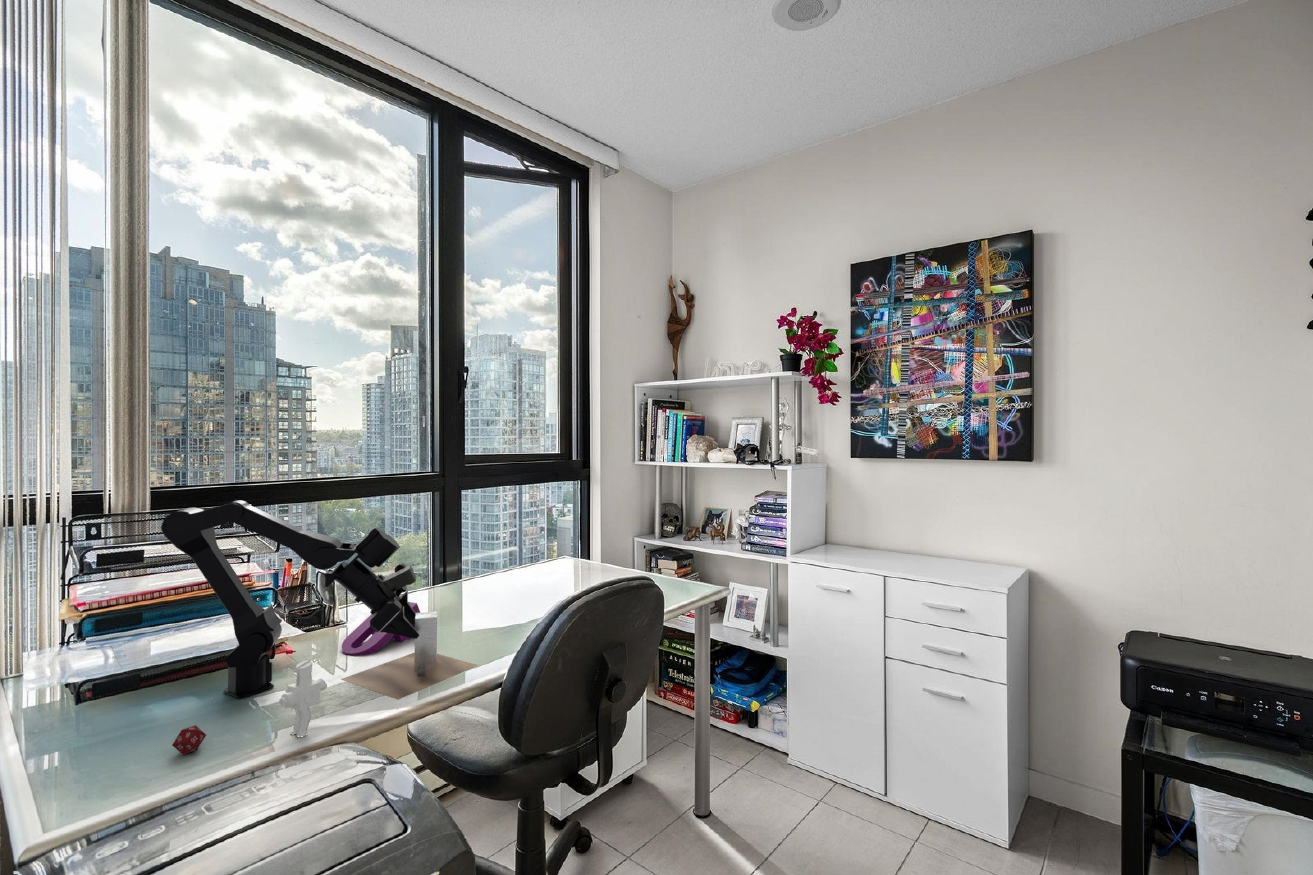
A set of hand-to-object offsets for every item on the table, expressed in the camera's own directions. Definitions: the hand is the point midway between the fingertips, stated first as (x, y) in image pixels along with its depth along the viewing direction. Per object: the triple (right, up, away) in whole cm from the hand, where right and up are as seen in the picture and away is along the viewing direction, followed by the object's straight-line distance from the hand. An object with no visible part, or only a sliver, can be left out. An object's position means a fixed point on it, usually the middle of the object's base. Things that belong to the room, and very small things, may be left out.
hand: (419, 630), depth 129 cm
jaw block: (+1, -8, +1) cm, 8 cm away
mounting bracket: (-15, -9, +15) cm, 23 cm away
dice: (-24, -9, -34) cm, 42 cm away
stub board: (0, -9, -3) cm, 10 cm away
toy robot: (-9, -9, -27) cm, 30 cm away
